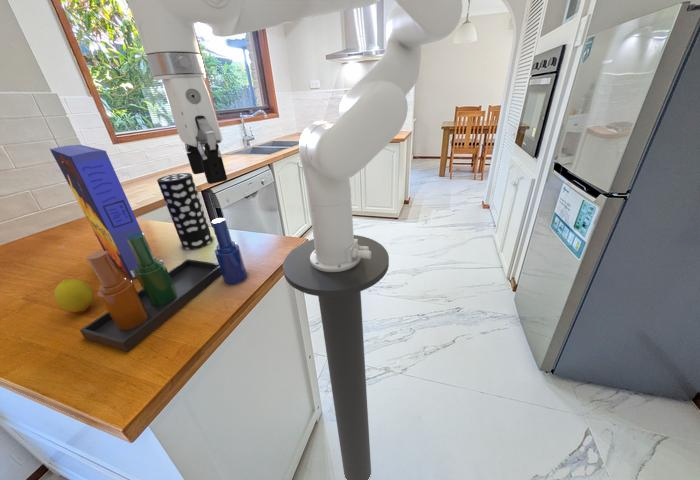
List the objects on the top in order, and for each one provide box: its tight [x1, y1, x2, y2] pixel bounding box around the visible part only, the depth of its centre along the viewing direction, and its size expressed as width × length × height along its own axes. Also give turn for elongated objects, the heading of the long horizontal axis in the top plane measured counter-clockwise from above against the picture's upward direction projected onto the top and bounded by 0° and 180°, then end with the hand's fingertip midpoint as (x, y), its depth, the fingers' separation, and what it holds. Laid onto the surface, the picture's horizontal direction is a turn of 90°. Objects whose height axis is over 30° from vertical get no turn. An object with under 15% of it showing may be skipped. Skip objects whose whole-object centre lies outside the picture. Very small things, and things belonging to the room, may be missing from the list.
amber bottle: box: [86, 250, 149, 331], centre depth 53 cm, size 5×5×15 cm
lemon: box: [53, 278, 95, 313], centre depth 59 cm, size 6×6×8 cm
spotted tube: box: [156, 172, 213, 251], centre depth 82 cm, size 8×8×20 cm
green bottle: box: [127, 232, 177, 306], centre depth 59 cm, size 5×5×15 cm
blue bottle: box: [211, 217, 248, 286], centre depth 65 cm, size 5×5×15 cm
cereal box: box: [49, 144, 143, 280], centre depth 72 cm, size 22×6×30 cm, turn 51°
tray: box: [79, 258, 222, 353], centre depth 62 cm, size 11×25×2 cm, turn 161°
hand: (209, 177), depth 53 cm, fingers open, 9 cm apart
